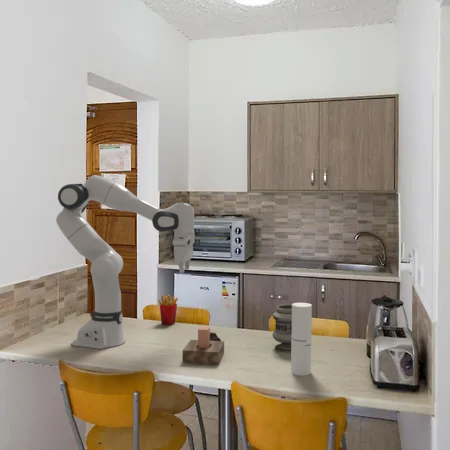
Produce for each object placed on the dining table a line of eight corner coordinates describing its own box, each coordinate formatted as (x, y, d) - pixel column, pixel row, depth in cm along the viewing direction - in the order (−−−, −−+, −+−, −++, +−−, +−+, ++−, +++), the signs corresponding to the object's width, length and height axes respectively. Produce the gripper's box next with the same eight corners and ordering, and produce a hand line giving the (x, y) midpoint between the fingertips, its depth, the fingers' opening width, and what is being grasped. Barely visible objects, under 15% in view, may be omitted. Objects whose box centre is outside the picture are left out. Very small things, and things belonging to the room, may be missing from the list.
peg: (197, 359, 194) (198, 329, 193) (200, 356, 198) (200, 326, 197) (207, 360, 193) (208, 329, 192) (209, 356, 197) (209, 327, 196)
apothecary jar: (266, 348, 208) (266, 306, 207) (283, 342, 217) (284, 301, 215) (290, 355, 200) (290, 311, 198) (306, 348, 208) (307, 306, 207)
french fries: (165, 321, 250) (165, 292, 249) (180, 323, 247) (180, 293, 246) (156, 325, 242) (156, 295, 241) (171, 327, 239) (171, 297, 238)
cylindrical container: (289, 368, 184) (290, 302, 182) (307, 368, 184) (309, 302, 183) (293, 375, 177) (294, 307, 175) (312, 375, 177) (314, 306, 176)
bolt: (212, 343, 220) (217, 353, 206) (203, 338, 220) (207, 347, 205) (219, 332, 221) (224, 341, 206) (209, 327, 220) (214, 335, 205)
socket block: (182, 363, 189) (182, 350, 189) (190, 351, 203) (190, 339, 203) (218, 365, 187) (218, 352, 187) (224, 353, 201) (224, 341, 201)
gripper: (182, 237, 226) (183, 267, 227) (171, 241, 206) (171, 274, 207) (196, 237, 225) (196, 267, 226) (186, 241, 205) (186, 274, 206)
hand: (184, 271), depth 216 cm, fingers open, 8 cm apart
